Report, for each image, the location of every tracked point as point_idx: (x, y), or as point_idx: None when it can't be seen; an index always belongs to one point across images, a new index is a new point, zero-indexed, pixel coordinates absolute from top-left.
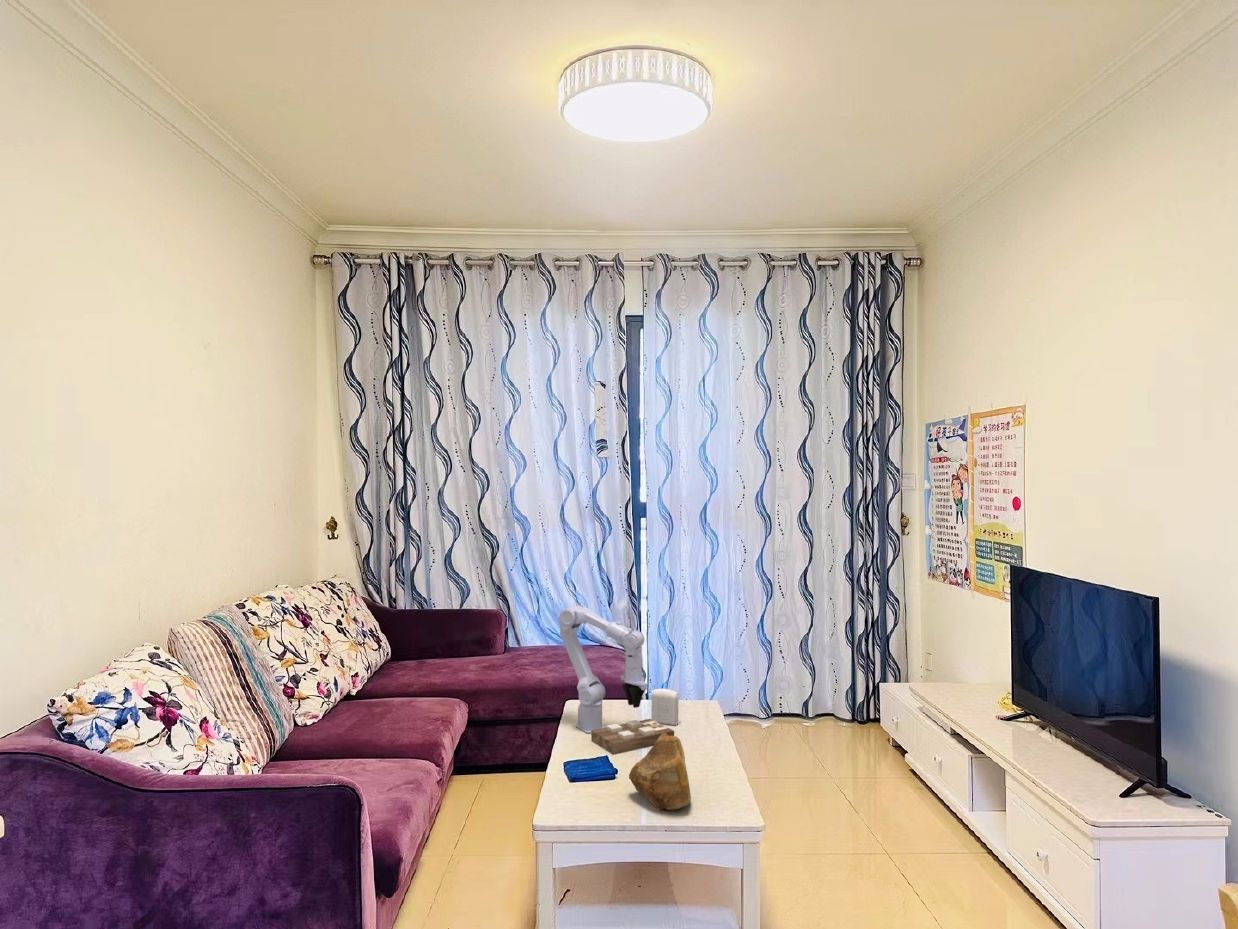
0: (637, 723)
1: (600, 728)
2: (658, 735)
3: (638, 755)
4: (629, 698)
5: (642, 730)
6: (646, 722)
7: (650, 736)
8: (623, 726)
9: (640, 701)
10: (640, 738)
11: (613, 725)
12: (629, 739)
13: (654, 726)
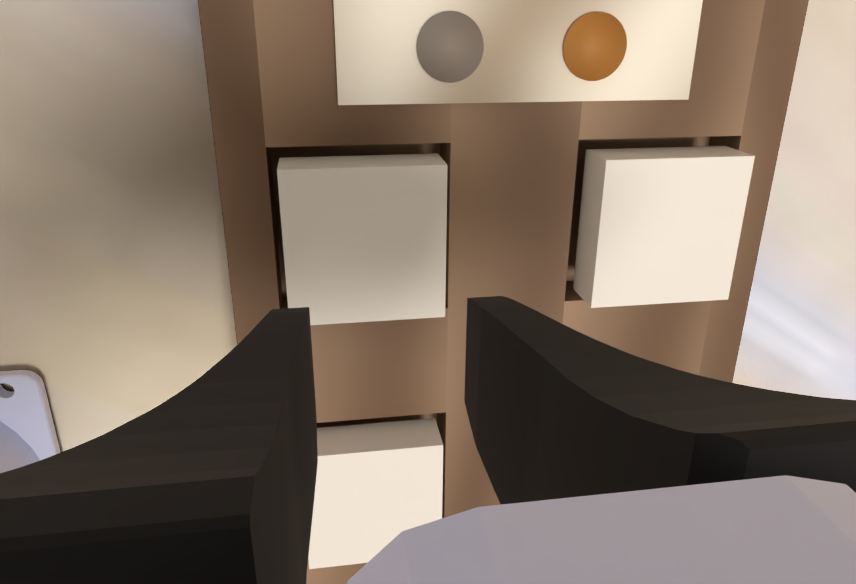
0: (432, 230)
1: (21, 446)
2: (773, 120)
3: (779, 391)
4: (309, 503)
5: (682, 301)
6: (344, 14)
7: (759, 235)
8: (317, 355)
9: (559, 327)
10: (736, 356)
11: (344, 506)
12: None
13: (556, 12)
